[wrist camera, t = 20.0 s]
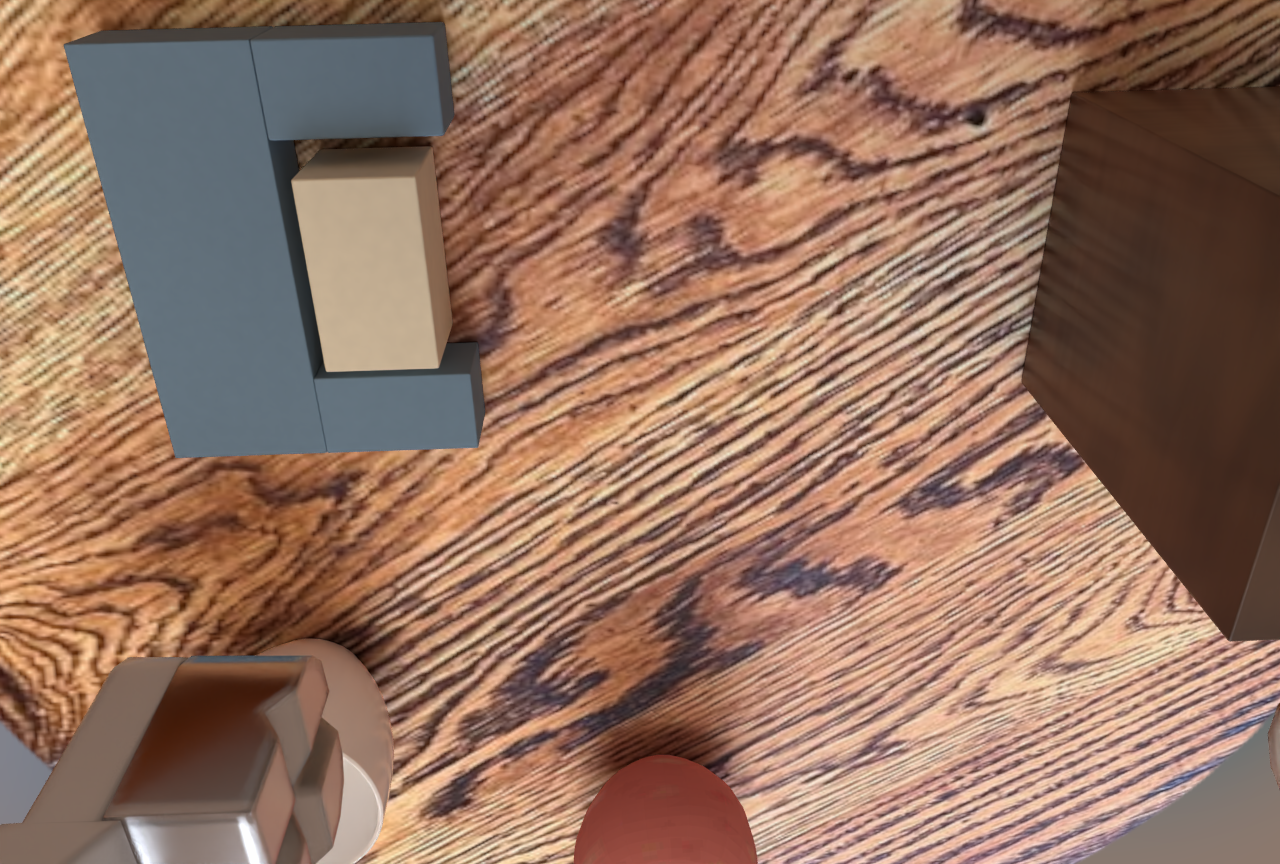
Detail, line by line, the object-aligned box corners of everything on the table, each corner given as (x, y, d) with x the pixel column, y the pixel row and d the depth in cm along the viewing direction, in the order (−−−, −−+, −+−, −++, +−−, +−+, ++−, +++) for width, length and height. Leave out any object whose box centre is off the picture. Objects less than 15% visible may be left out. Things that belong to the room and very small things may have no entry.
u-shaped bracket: (101, 30, 31) (62, 43, 28) (445, 21, 31) (433, 34, 29) (200, 422, 37) (175, 458, 35) (485, 413, 37) (478, 448, 35)
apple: (749, 716, 44) (777, 877, 37) (739, 835, 48) (763, 1003, 41) (574, 719, 44) (569, 882, 37) (577, 839, 48) (574, 1008, 41)
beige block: (319, 148, 32) (289, 179, 29) (432, 145, 32) (415, 176, 29) (349, 327, 35) (325, 373, 32) (453, 324, 35) (439, 369, 32)
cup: (392, 762, 45) (360, 900, 39) (151, 714, 43) (80, 851, 37) (430, 626, 42) (403, 755, 36) (171, 568, 40) (96, 693, 34)
